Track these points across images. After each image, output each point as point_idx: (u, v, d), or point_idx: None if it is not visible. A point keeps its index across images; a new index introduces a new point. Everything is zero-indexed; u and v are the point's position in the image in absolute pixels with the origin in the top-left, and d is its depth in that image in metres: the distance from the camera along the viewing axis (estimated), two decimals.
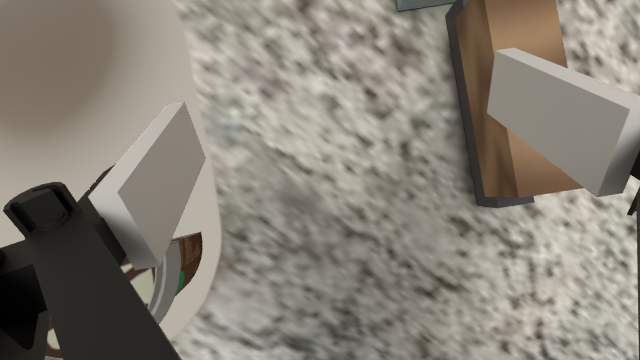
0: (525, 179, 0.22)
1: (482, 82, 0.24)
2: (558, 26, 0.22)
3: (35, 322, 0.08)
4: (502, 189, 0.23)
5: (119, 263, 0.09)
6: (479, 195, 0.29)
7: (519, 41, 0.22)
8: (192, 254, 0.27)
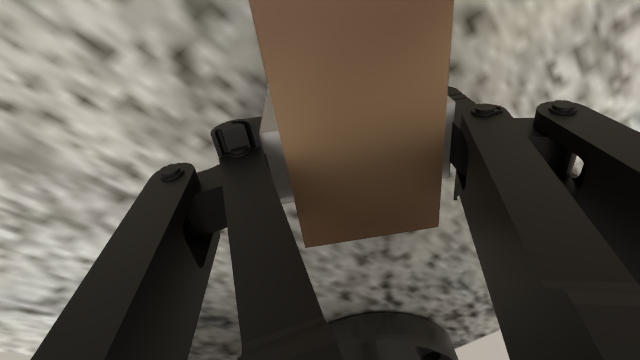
0: (317, 220, 0.11)
1: None
2: None
3: (208, 245, 0.10)
4: None
5: None
6: None
7: None
8: None
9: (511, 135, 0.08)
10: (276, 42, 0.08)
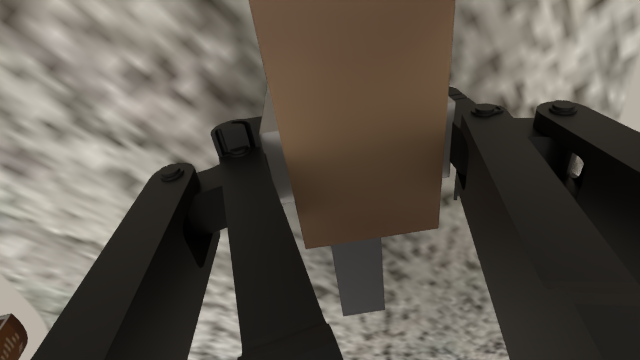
0: (318, 221, 0.11)
1: None
2: None
3: (208, 245, 0.10)
4: None
5: None
6: None
7: None
8: None
9: (511, 135, 0.08)
10: (277, 45, 0.08)
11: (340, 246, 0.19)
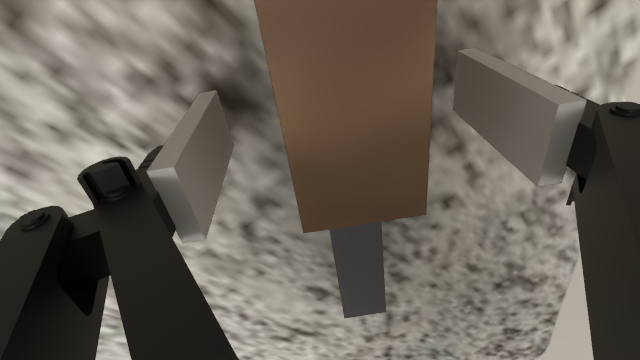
0: (315, 206, 0.12)
1: None
2: None
3: (95, 290, 0.09)
4: None
5: (171, 237, 0.10)
6: None
7: None
8: None
9: None
10: (279, 44, 0.09)
11: (342, 249, 0.19)
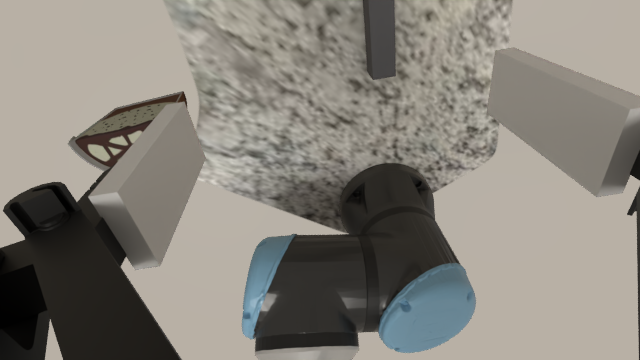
0: None
1: None
2: None
3: (35, 322, 0.08)
4: None
5: (119, 263, 0.09)
6: (368, 66, 0.44)
7: None
8: None
9: None
10: None
11: (374, 23, 0.38)
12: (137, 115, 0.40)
